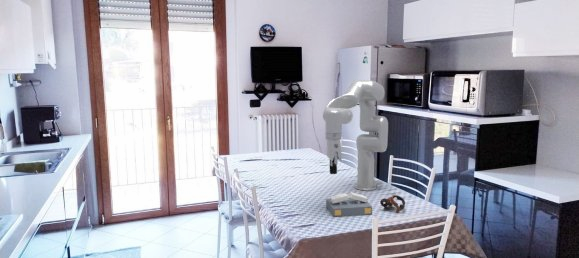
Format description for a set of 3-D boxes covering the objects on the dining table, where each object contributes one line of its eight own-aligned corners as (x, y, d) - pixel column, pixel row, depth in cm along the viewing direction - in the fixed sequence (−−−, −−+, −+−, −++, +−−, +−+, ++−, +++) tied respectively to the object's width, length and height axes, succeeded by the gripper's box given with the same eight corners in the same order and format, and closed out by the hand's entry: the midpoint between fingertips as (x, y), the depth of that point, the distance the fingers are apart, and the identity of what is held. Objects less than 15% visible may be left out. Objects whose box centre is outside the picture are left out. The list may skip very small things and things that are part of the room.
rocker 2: (363, 199, 194) (364, 195, 194) (366, 202, 190) (367, 198, 190) (348, 195, 193) (350, 191, 193) (351, 198, 189) (352, 194, 188)
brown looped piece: (395, 206, 199) (403, 194, 195) (401, 220, 191) (409, 208, 187) (374, 202, 196) (382, 190, 192) (380, 216, 188) (387, 204, 184)
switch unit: (362, 204, 200) (362, 195, 199) (372, 214, 186) (372, 204, 185) (326, 206, 197) (326, 197, 196) (333, 217, 183) (333, 206, 182)
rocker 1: (346, 196, 193) (345, 192, 192) (348, 199, 188) (347, 195, 188) (330, 200, 192) (329, 196, 192) (332, 203, 188) (332, 199, 187)
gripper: (345, 138, 179) (345, 177, 181) (336, 133, 193) (336, 169, 196) (329, 138, 177) (329, 178, 180) (322, 133, 192) (322, 170, 195)
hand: (333, 173), depth 188 cm, fingers closed
